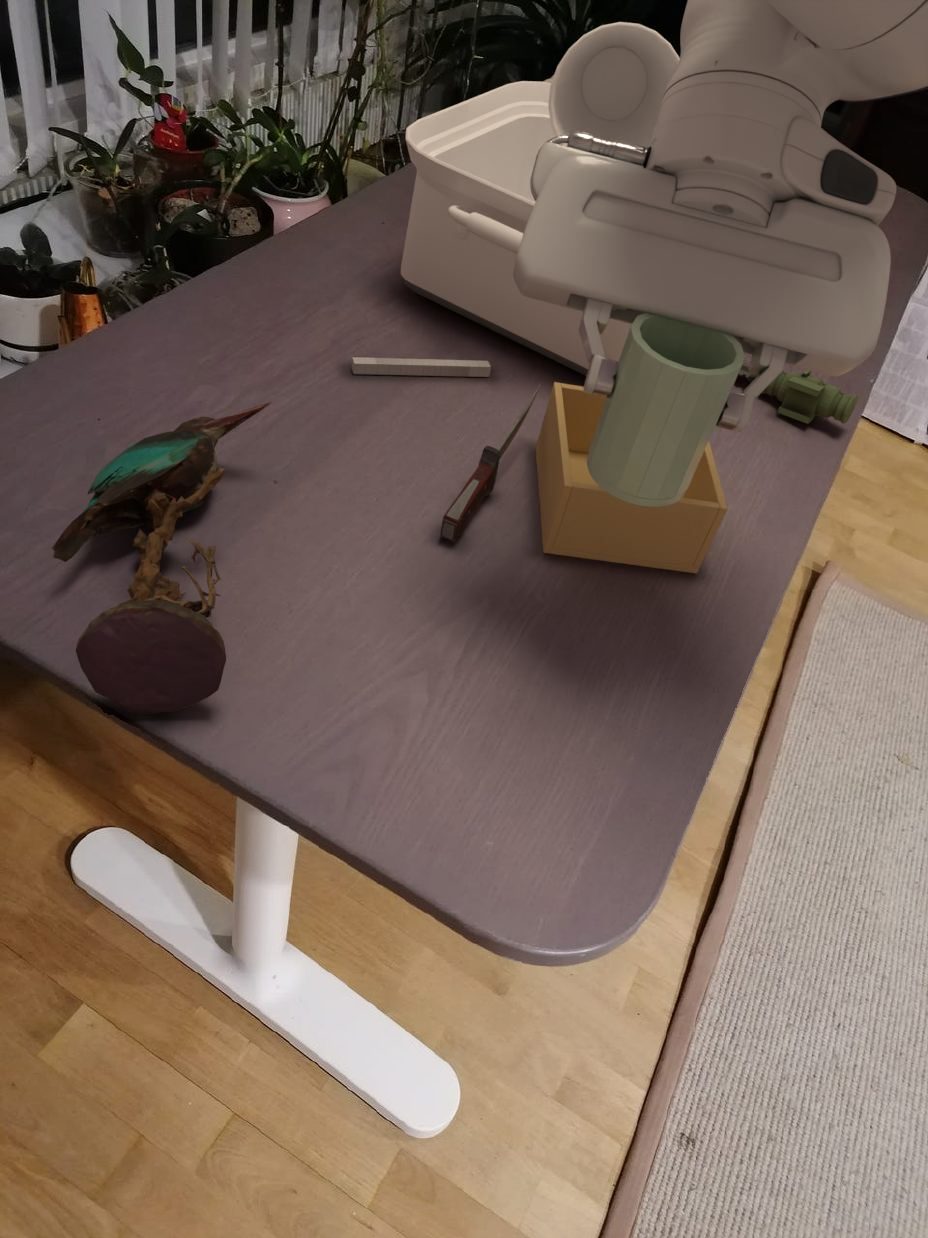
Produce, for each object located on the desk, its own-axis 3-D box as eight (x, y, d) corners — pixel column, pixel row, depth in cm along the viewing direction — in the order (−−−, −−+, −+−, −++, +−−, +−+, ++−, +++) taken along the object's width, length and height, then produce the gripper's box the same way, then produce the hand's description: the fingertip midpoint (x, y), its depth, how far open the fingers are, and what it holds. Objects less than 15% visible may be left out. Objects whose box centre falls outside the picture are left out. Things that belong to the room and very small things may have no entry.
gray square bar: (352, 357, 87) (351, 367, 88) (354, 363, 86) (353, 373, 87) (488, 360, 90) (486, 370, 91) (491, 366, 90) (489, 376, 90)
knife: (519, 430, 86) (532, 381, 82) (534, 436, 85) (547, 386, 82) (436, 540, 74) (447, 488, 70) (453, 547, 74) (464, 495, 70)
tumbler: (678, 449, 62) (732, 319, 55) (694, 514, 57) (755, 382, 51) (582, 434, 61) (625, 301, 54) (591, 499, 57) (639, 363, 50)
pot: (603, 429, 88) (655, 275, 77) (344, 299, 95) (359, 141, 84) (737, 298, 110) (791, 164, 99) (518, 201, 117) (547, 67, 107)
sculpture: (265, 579, 53) (261, 360, 71) (9, 641, 53) (71, 406, 71) (308, 683, 59) (294, 455, 77) (76, 738, 58) (117, 497, 77)
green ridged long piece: (854, 420, 95) (836, 437, 92) (683, 358, 103) (661, 371, 100) (868, 383, 93) (850, 399, 90) (692, 322, 101) (670, 334, 97)
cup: (654, 163, 99) (662, 190, 89) (538, 134, 98) (533, 158, 88) (694, 28, 92) (708, 41, 82) (570, -4, 92) (569, 5, 81)
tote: (673, 468, 86) (699, 404, 81) (697, 573, 77) (728, 509, 72) (535, 447, 84) (554, 381, 80) (543, 552, 75) (564, 485, 70)
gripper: (550, 92, 52) (484, 349, 52) (927, 190, 52) (861, 446, 52) (540, 148, 58) (481, 377, 58) (877, 235, 58) (817, 464, 58)
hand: (663, 410), depth 55 cm, fingers closed on tumbler, 6 cm apart
